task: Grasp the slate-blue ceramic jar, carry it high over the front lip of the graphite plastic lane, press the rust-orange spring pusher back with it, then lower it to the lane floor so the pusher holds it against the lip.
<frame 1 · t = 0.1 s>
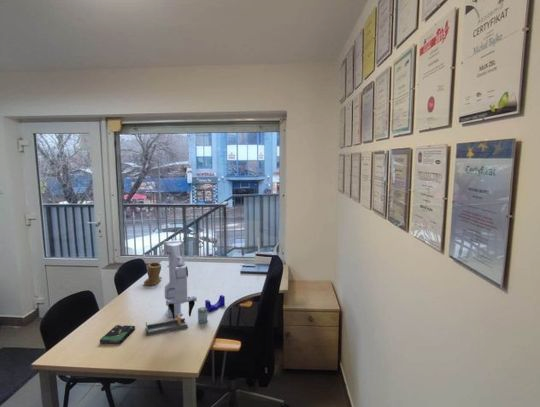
hand: (181, 316, 157), 10 cm above the table, fingers open, 7 cm apart
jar: (202, 321, 173), on the table
pusher: (179, 320, 168), point 3 cm above the table, slide at 0.0 cm
brown boot: (154, 282, 234), on the table
cable clip: (215, 308, 191), on the table
disk drive: (118, 337, 157), on the table
lane: (166, 328, 166), on the table
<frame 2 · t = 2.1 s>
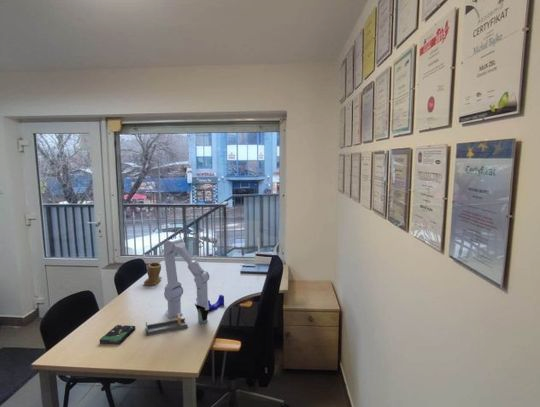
hand: (202, 318, 173), 2 cm above the table, fingers closed on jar, 5 cm apart
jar: (202, 321, 173), on the table, touching gripper
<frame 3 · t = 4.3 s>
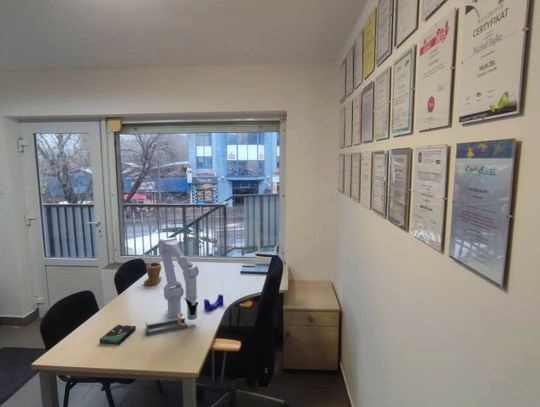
hand: (191, 312, 170), 6 cm above the table, fingers closed on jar, 5 cm apart
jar: (192, 317, 171), point 3 cm above the table, touching gripper
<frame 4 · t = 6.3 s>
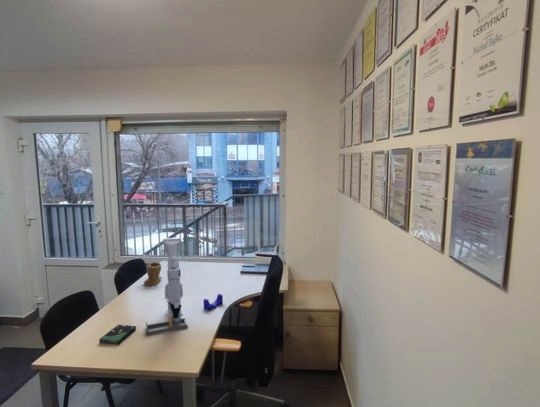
hand: (175, 315, 167), 6 cm above the table, fingers closed on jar, 5 cm apart
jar: (176, 320, 167), point 3 cm above the table, touching gripper, pusher
pusher: (170, 321, 166), point 3 cm above the table, slide at 4.4 cm, touching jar
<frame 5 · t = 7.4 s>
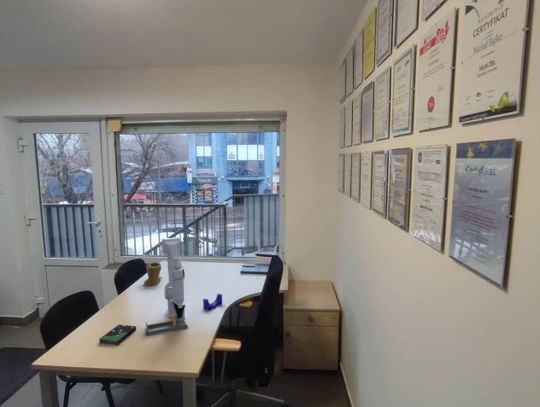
hand: (178, 315, 168), 6 cm above the table, fingers closed on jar, 5 cm apart
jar: (180, 320, 168), point 3 cm above the table, touching gripper, pusher
pusher: (174, 320, 167), point 3 cm above the table, slide at 2.5 cm, touching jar
when the fingers open (3 cm above the table, at t = 8.9 s): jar stays where it is, resting on lane, pusher.
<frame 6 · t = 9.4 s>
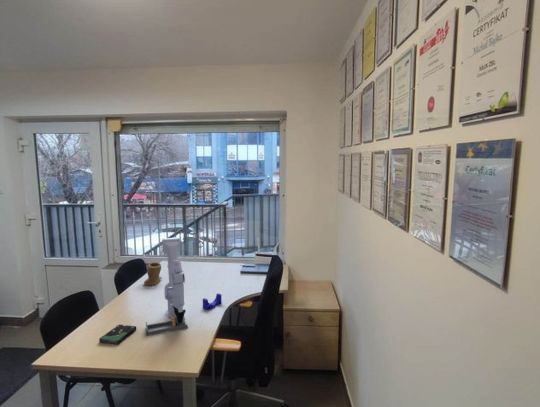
hand: (179, 319, 168), 3 cm above the table, fingers open, 7 cm apart
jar: (180, 323, 168), point 1 cm above the table, touching lane, pusher
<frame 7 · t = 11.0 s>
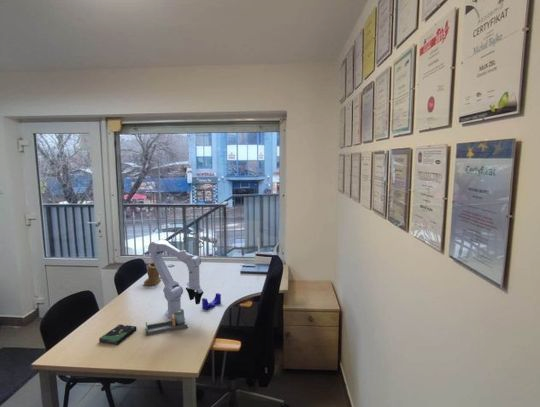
hand: (194, 301, 177), 9 cm above the table, fingers open, 7 cm apart
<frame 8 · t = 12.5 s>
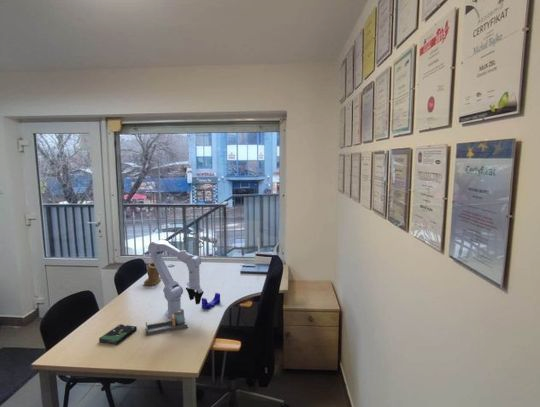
hand: (194, 301, 177), 9 cm above the table, fingers open, 7 cm apart
at the end: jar 0.2 cm from the target spot on the lane, point 1.2 cm above the lane's base; pusher slide at 2.8 cm; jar tilted 5° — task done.
